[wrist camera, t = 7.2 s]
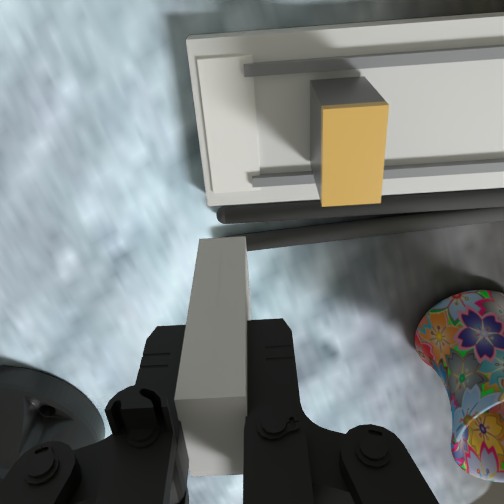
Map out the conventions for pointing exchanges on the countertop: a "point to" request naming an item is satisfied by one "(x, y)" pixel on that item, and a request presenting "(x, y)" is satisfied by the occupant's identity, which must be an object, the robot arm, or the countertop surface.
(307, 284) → the countertop surface
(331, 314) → the countertop surface
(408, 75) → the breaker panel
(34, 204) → the countertop surface
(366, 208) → the cable
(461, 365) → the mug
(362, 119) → the block
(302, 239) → the cable
